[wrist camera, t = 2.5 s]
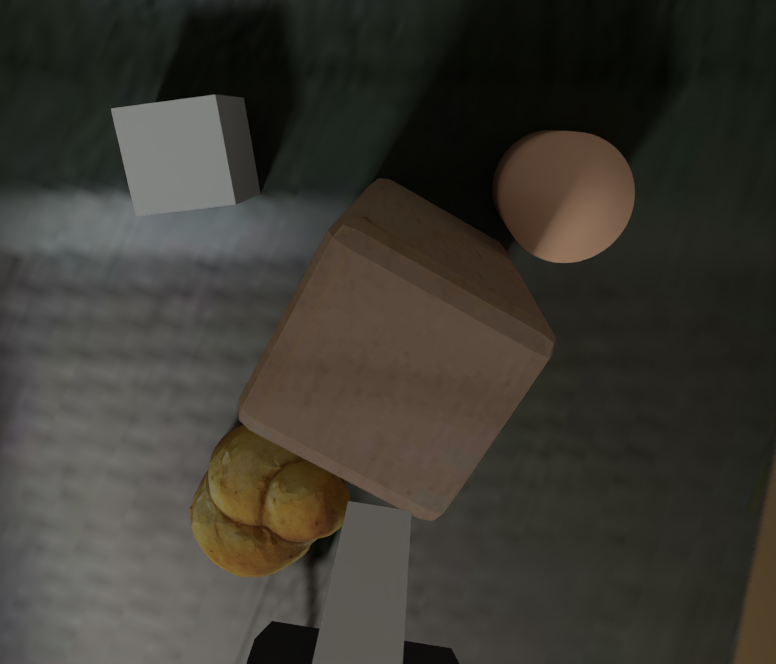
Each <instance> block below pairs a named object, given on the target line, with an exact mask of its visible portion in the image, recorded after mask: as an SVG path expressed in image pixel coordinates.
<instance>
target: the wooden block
mask: <svg viewBox="0 0 776 664" xmlns="http://www.w3.org/2000/svg"><path fill="white" fill-rule="evenodd" d="M554 342H555V335H554V334H553V332H552V330H551V328H550V327H549V325H548V323H547V321H546V320H545V318H544V316H543V314H542V313H541V311H540V309H539V307H538V306H537V304H536V302H535V300H534V299H533V297H532V295H531V294H530V292H529V290H528V288H527V287H526V285H525V283H524V281H523V280H522V278H521V276H520V274H519V273H518V271H517V269H516V267H515V266H514V264H513V262H512V260H511V259H510V257H509V255H508V253H507V252H506V250H505V249H504V248H503V246H502V245H501V244H500V242H499V241H497V240H495V239H493V238H492V237H490V236H488V235H486V234H485V233H483V232H481V231H479V230H478V229H476V228H474V227H472V226H471V225H469V224H467V223H465V222H464V221H462V220H460V219H459V218H457V217H455V216H453V215H452V214H450V213H448V212H446V211H445V210H443V209H441V208H439V207H438V206H436V205H434V204H432V203H431V202H429V201H427V200H425V199H424V198H422V197H420V196H418V195H417V194H415V193H413V192H411V191H410V190H408V189H406V188H404V187H403V186H401V185H399V184H397V183H396V182H394V181H392V180H390V179H382V178H378V179H377V180H376V181H374V182H373V183H372V184H371V185H369V186H368V187H367V189H366V190H365V191H364V192H363V193H362V194H361V195H360V196H359V197H358V198H357V199H356V200H355V202H354V203H353V204H352V205H351V206H350V207H349V208H348V209H347V210H346V211H345V212H344V213H343V215H342V216H341V217H340V218H339V219H338V220H337V221H336V222H335V223H334V224H333V225H332V226H331V228H330V229H329V230H328V231H327V233H326V235H325V237H324V239H323V241H322V243H321V245H320V246H319V248H318V250H317V252H316V254H315V256H314V258H313V260H312V262H311V263H310V265H309V267H308V269H307V271H306V273H305V275H304V277H303V279H302V281H301V282H300V284H299V286H298V288H297V290H296V292H295V294H294V296H293V298H292V299H291V301H290V303H289V305H288V307H287V309H286V311H285V313H284V315H283V317H282V318H281V320H280V322H279V324H278V326H277V328H276V330H275V332H274V334H273V336H272V337H271V339H270V341H269V343H268V345H267V347H266V349H265V351H264V353H263V354H262V356H261V358H260V360H259V362H258V364H257V366H256V368H255V370H254V372H253V373H252V375H251V377H250V379H249V381H248V383H247V385H246V387H245V389H244V390H243V392H242V394H241V396H240V398H239V420H240V421H241V422H242V423H243V424H244V425H245V426H246V427H247V428H248V429H249V430H250V431H252V432H254V433H256V434H258V435H260V436H262V437H263V438H265V439H267V440H269V441H271V442H273V443H275V444H277V445H279V446H281V447H283V448H285V449H286V450H288V451H290V452H292V453H294V454H296V455H298V456H300V457H302V458H304V459H306V460H308V461H310V462H311V463H313V464H315V465H317V466H319V467H321V468H323V469H325V470H327V471H329V472H331V473H333V474H335V475H336V476H338V477H340V478H342V479H344V480H346V481H348V482H350V483H352V484H354V485H356V486H358V487H360V488H361V489H363V490H365V491H367V492H369V493H371V494H373V495H375V496H377V497H379V498H381V499H383V500H385V501H386V502H388V503H390V504H392V505H394V506H396V507H398V508H400V509H402V510H407V511H411V515H413V516H415V517H417V518H419V519H425V520H431V521H433V520H435V519H436V518H437V517H439V516H440V515H441V514H443V513H444V512H445V511H446V509H447V508H448V507H449V506H450V504H451V503H452V501H453V500H454V498H455V497H456V495H457V494H458V492H459V491H460V490H461V488H462V487H463V485H464V484H465V482H466V481H467V479H468V478H469V476H470V475H471V473H472V472H473V470H474V469H475V467H476V466H477V465H478V463H479V462H480V460H481V459H482V457H483V456H484V454H485V453H486V451H487V450H488V448H489V447H490V445H491V444H492V443H493V441H494V440H495V438H496V437H497V435H498V434H499V432H500V431H501V429H502V428H503V426H504V425H505V423H506V422H507V420H508V419H509V418H510V416H511V415H512V413H513V412H514V410H515V409H516V407H517V406H518V404H519V403H520V401H521V400H522V398H523V397H524V396H525V394H526V393H527V391H528V390H529V388H530V387H531V385H532V384H533V382H534V381H535V379H536V378H537V376H538V375H539V373H540V372H541V371H542V369H543V368H544V366H545V365H546V363H547V362H548V360H549V359H550V357H551V356H552V352H553V347H554Z"/></svg>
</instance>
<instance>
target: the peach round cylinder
mask: <svg viewBox="0 0 776 664" xmlns="http://www.w3.org/2000/svg"><path fill="white" fill-rule="evenodd" d="M492 196H493V202H494V205H495V208H496V211H497V213H498V215H499V216H500V218H501V220H502V221H503V223H504V224H505V225H506V227H507V228H508V230H509V231H510V233H511V234H512V235H513V237H514V238H515V239H516V241H517V242H518V243H519V244H520V245H521V246H522V247H523V248H524V249H525V250H527V251H528V252H529V253H531V254H533V255H534V256H536V257H538V258H541V259H544V260H546V261H551V262H557V263H572V262H578V261H582V260H585V259H588V258H591V257H593V256H595V255H597V254H599V253H600V252H602V251H604V250H605V249H606V248H607V247H609V246H610V245H611V244H612V243H613V242H614V241H615V240H616V239H617V238H618V237H619V235H620V234H621V233H622V231H623V230H624V228H625V227H626V225H627V223H628V221H629V218H630V216H631V213H632V210H633V205H634V197H635V188H634V180H633V176H632V173H631V170H630V167H629V165H628V163H627V162H626V160H625V158H624V157H623V156H622V154H621V153H620V152H619V151H618V150H617V149H616V148H615V147H614V146H613V145H612V144H610V143H609V142H608V141H606V140H604V139H602V138H600V137H598V136H595V135H592V134H588V133H584V132H573V131H562V130H542V131H537V132H534V133H531V134H528V135H526V136H524V137H522V138H521V139H519V140H518V141H516V142H515V143H514V144H513V145H512V146H510V147H509V149H508V150H507V151H506V152H505V153H504V155H503V156H502V157H501V159H500V161H499V163H498V165H497V167H496V170H495V172H494V176H493V182H492Z"/></svg>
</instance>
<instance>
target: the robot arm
mask: <svg viewBox="0 0 776 664" xmlns="http://www.w3.org/2000/svg"><path fill="white" fill-rule="evenodd" d="M410 526H411V511H407V510H401V509H395V508H388V507H382V506H376V505H369V504H363V503H357V502H350V501H348V504H347V509H346V513H345V518H344V522H343V527H342V531H341V536H340V540H339V545H338V549H337V554H336V558H335V563H334V567H333V572H332V576H331V581H330V585H329V590H328V594H327V599H326V603H325V607H324V612H323V616H322V621H321V625H320V629H318V628H311V627H305V626H299V625H293V624H287V623H281V622H274V621H272V622H271V623H270V624H269V625H268V626H267V627H266V628H265V629H264V630H263V631H262V632H261V633H260V634H259V635H258V636H257V637H256V638H255V640H254V643H253V646H252V649H251V651H250V654H249V657H248V660H247V664H459V662H458V660H457V659H456V657H455V655H454V653H453V651H452V649H451V648H446V647H439V646H433V645H427V644H421V643H415V642H409V641H404V632H405V614H406V597H407V579H408V561H409V544H410Z"/></svg>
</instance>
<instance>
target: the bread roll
mask: <svg viewBox="0 0 776 664" xmlns="http://www.w3.org/2000/svg"><path fill="white" fill-rule="evenodd" d="M348 501H350V494H349V490H348V487H347V485H346V480H344V479H342V478H340V477H338V476H336V475H335V474H333V473H331V472H329V471H327V470H325V469H323V468H321V467H319V466H317V465H315V464H313V463H311V462H310V461H308V460H306V459H304V458H302V457H300V456H298V455H296V454H294V453H292V452H290V451H288V450H286V449H285V448H283V447H281V446H279V445H277V444H275V443H273V442H271V441H269V440H267V439H265V438H263V437H262V436H260V435H258V434H256V433H254V432H252V431H250V430H249V429H248V428H247V427H246V426H245V425H244V424H243V425H240V426H238V427H236V428H234V429H232V430H231V431H229V432H228V433H227V434H226V435H225V436H224V437H223V438H222V439H221V440H220V442H219V443H218V445H217V446H216V447H215V448H214V451H213V453H212V455H211V460H210V464H209V469H208V471H207V472H206V474H205V476H204V478H203V480H202V482H201V483H200V485H199V487H198V489H197V491H196V493H195V495H194V499H193V503H192V506H191V507H189V510H190V512H191V514H190V519H191V527H192V531H193V534H194V536H195V539H196V540H197V542H198V543H199V545H200V547H201V549H202V550H203V551H204V553H205V554H206V555H207V556H208V557H209V559H210V560H211V561H212V562H213V563H215V564H216V565H218V566H220V567H221V568H223V569H224V570H225V571H228V572H230V573H232V574H234V575H237V576H240V577H261V576H267V575H271V574H274V573H276V572H278V571H280V570H282V569H283V568H285V567H286V566H288V565H290V564H292V563H293V562H295V561H296V560H298V559H299V558H301V557H302V556H303V555H304V554H305V553H306V552H307V551H308V549H309V547H310V545H311V544H312V543H313V542H314V541H315V540H316V539H318V538H323V537H326V536H329V535H331V534H332V533H334V532H335V531H337V530H338V529H339V528H340V527H341V526H342V525H343V522H344V518H345V513H346V509H347V504H348Z"/></svg>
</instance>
